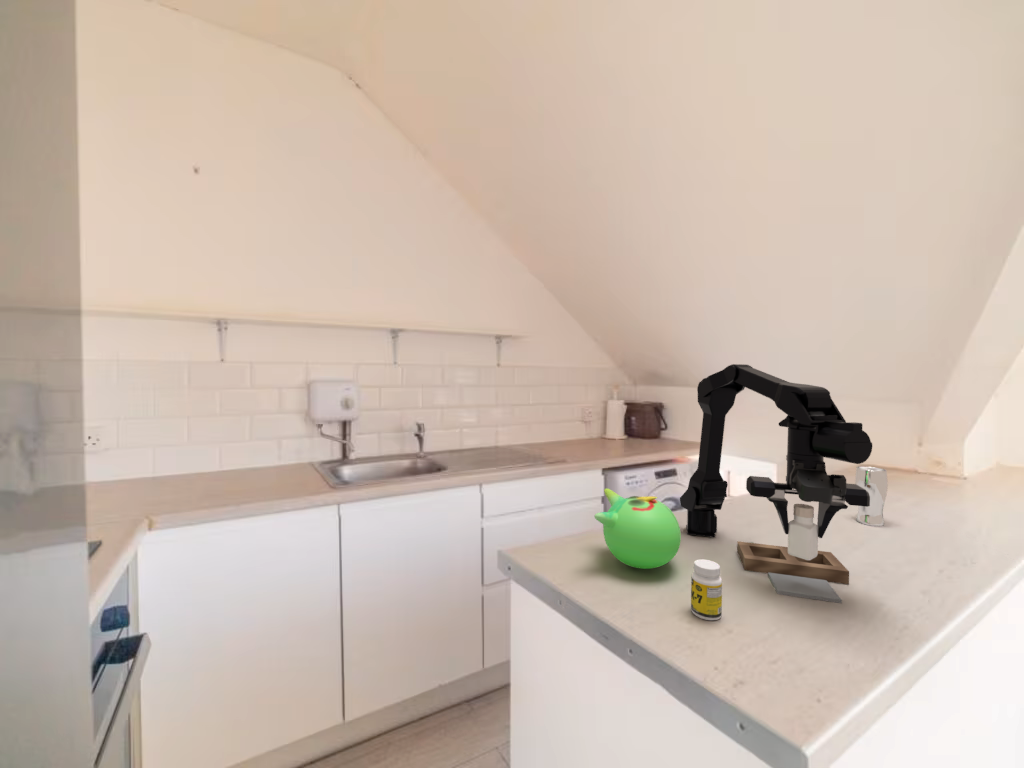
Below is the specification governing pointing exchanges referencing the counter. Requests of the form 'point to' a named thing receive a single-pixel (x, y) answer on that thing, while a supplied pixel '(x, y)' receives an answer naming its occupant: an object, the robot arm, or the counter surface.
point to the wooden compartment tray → (791, 563)
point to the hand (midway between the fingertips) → (802, 535)
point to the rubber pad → (803, 587)
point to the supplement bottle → (706, 590)
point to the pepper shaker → (803, 533)
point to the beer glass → (872, 494)
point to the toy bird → (640, 530)
